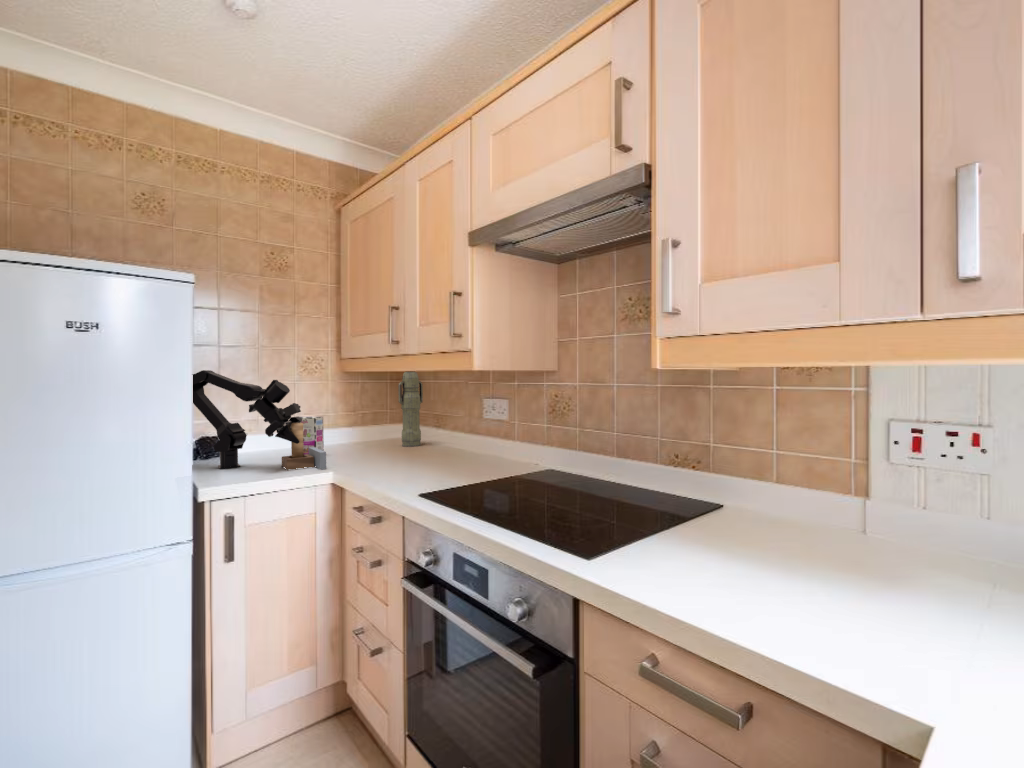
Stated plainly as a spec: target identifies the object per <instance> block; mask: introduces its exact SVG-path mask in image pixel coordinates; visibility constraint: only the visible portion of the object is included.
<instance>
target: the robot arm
mask: <svg viewBox="0 0 1024 768" xmlns="http://www.w3.org/2000/svg"><path fill="white" fill-rule="evenodd" d="M192 375H193V403H192V404H193V405H194V406H195V407H196V409H197V410H198V411H199V412H200V413H201V414H202V415H203V417H204V418H205V419H206V420H207V421H208V422H209V423H210V424H211V425H212V426H213V428H214V429H215V431H216V436H217V438H218V441H217V442H216V443H215V444H213V450H214V452H215V453H219V464H218V465H217V467H218V468H219V470H223V469H231V468H240V467H241V465H240V464H239V449H240V450H241V449H243V446H244V444H245V442H246V440H247V433H246V432H245V431H246V429H244V428H243V427H242V426H241V424H240V423H239V422H233V423H232V422H230V421H229V420H228V419H227V418H226V417H225V416H224V414H223V413H222V412H221V411H220V410H219V409H218V408H217V407H216V405H215V404H214V403H213V402H212V401H211V400H210V398H209V397H208V396H207V395H206V393H205V387H206V386H207V385H208V384H210V385H212V386H216V387H218V388H221V389H222V390H225V391H228V392H231V393H233V394H234V395H235V397H237V398H238V399H240V400H241V401H243V402H253V404H249V405H248V413H254V412H257V413H258V414H259V415H260V416H261V417H262V418H264V419H263V422H265V423H269V425H268V427H266V428H265V429H264V433H265V434H266V436H267V437H268V438H271V437H273V436H275V437H274V438H279V439H282V440H286V441H288V442H290V443H291V442H294V443H296V444H298V443H299V442H300V441H299V440H298V438H297V437H296V436H295V435H294V433H293V432H292V431H291V423H300V422H301V421H302V419H301V418H300V417H301V416H294V415H295V414H299V413H301V412H302V410H301V405H299V404H298V403H295V402H293V403H290V404H289V405H288V406H286V407H284V408H282V407H277V405H275V403H276V404H279V403H280V402H281V401H283V399H284V398H285V397H286V396H287V395H288V394H289V393H290V391H291V390H290V388H289V386H287V385H285V384H284V383H282V382H281V381H279V380H278V379H272V381H271V382H270V384H269V385H268V386H267V387H266V388H262V386H260V385H259V384H258V385H256V384H251V383H245V382H240V381H237V380H235V379H233V378H229V377H227V376H225V375H222V374H219V373H217V372H215V371H213V370H209V369H208V370H207V369H205V370H200V371H198V372H196V373H194V374H193V373H192ZM275 432H276V433H277V434H275V435H274V433H275ZM303 442H304V438H303Z"/></svg>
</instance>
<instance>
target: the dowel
mask: <svg viewBox="0 0 1024 768" xmlns="http://www.w3.org/2000/svg"><path fill="white" fill-rule="evenodd" d="M291 431H292V432H293V433H294V435H295V436H296V437H297V438H298V440H299V441H300V442H299V443H298V444H296V443H294V442H291V441H290V443H291V444H290V445H291V456H292V459H293V458H302V457H304V447H303V423H291Z"/></svg>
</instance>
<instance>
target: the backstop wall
mask: <svg viewBox="0 0 1024 768" xmlns="http://www.w3.org/2000/svg"><path fill="white" fill-rule="evenodd" d="M309 455H311V456H313V457H314V467H315V466H316V467H317V468H316V467H315V468H316V469H318V468H319V470H320V469H321V470H327V452H326V451H325V450H324V451H322V450H320V449H317V448H315V447H310V448H309Z"/></svg>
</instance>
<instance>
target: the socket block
mask: <svg viewBox="0 0 1024 768" xmlns="http://www.w3.org/2000/svg"><path fill="white" fill-rule="evenodd" d="M282 466H283V467H285V468H286V469H295V470H297V469H296V468H303V469H305V468H304V467H312V468H315V466H314V457H313V456H311V455H308V454H304V457H302V458H293V459H292V455H286V456H285V455H284V456H281V467H282ZM283 467H282V468H283ZM286 469H285V470H286Z"/></svg>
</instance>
